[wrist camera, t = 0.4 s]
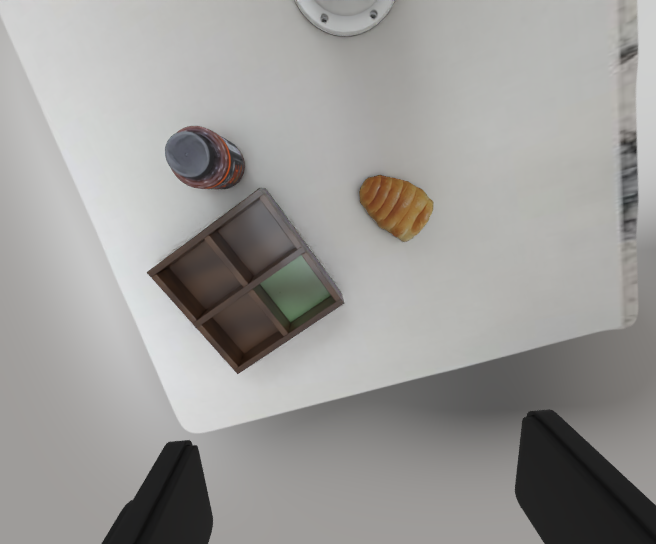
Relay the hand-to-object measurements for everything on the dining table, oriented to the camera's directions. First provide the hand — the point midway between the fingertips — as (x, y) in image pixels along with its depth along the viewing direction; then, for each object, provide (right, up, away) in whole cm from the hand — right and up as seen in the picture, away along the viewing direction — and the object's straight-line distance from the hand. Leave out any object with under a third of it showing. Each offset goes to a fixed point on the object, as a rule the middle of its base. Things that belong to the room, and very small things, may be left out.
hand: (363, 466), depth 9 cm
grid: (-11, +5, +34) cm, 36 cm away
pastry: (+8, +14, +33) cm, 36 cm away
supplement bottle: (-14, +19, +30) cm, 39 cm away
